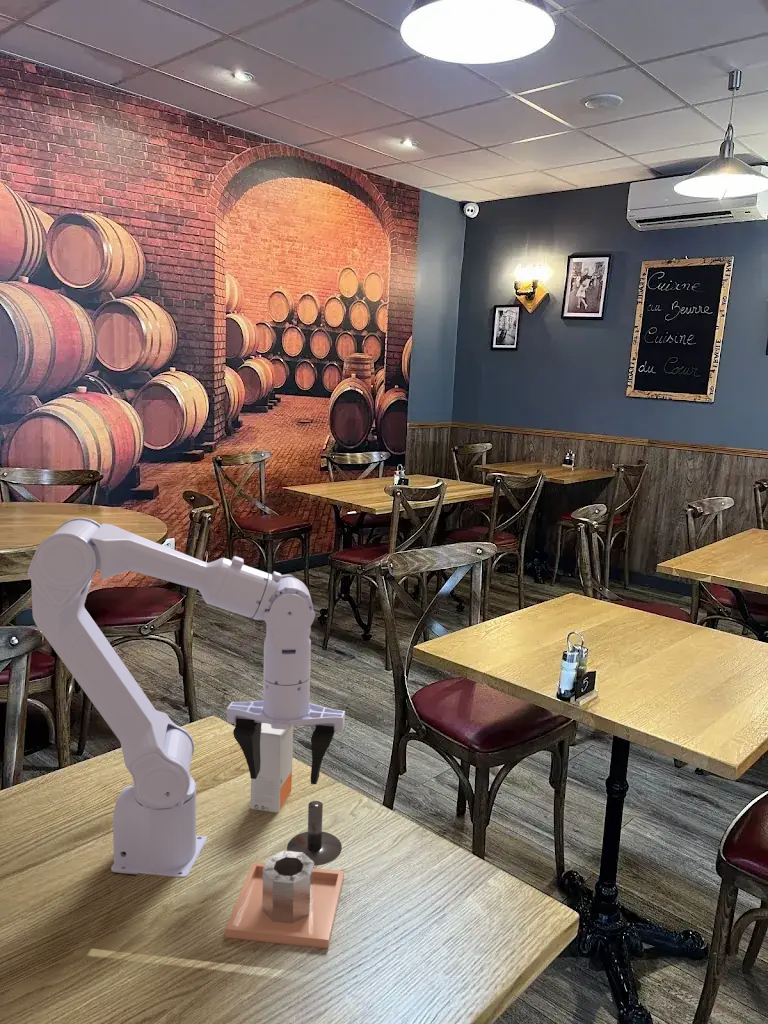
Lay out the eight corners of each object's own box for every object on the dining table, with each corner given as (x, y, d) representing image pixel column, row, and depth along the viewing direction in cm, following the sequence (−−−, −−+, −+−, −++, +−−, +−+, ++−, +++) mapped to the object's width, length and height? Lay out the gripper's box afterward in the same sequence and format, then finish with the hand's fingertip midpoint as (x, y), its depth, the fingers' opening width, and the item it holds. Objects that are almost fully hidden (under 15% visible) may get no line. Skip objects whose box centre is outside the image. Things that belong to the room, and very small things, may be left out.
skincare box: (279, 816, 103) (280, 735, 101) (249, 811, 104) (250, 731, 102) (293, 792, 109) (294, 716, 107) (265, 788, 110) (266, 712, 108)
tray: (225, 941, 80) (225, 928, 80) (252, 873, 91) (252, 862, 91) (328, 952, 79) (328, 939, 79) (343, 882, 90) (344, 871, 90)
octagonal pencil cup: (258, 920, 83) (259, 879, 82) (270, 887, 88) (271, 849, 87) (306, 925, 82) (307, 884, 82) (315, 892, 88) (316, 853, 87)
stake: (281, 865, 93) (282, 818, 92) (293, 831, 100) (294, 787, 99) (337, 871, 92) (338, 823, 91) (345, 836, 99) (346, 792, 98)
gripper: (219, 684, 89) (219, 789, 91) (340, 694, 87) (336, 800, 90) (236, 662, 96) (235, 760, 98) (348, 671, 94) (345, 769, 97)
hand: (285, 777), depth 95 cm, fingers open, 7 cm apart
